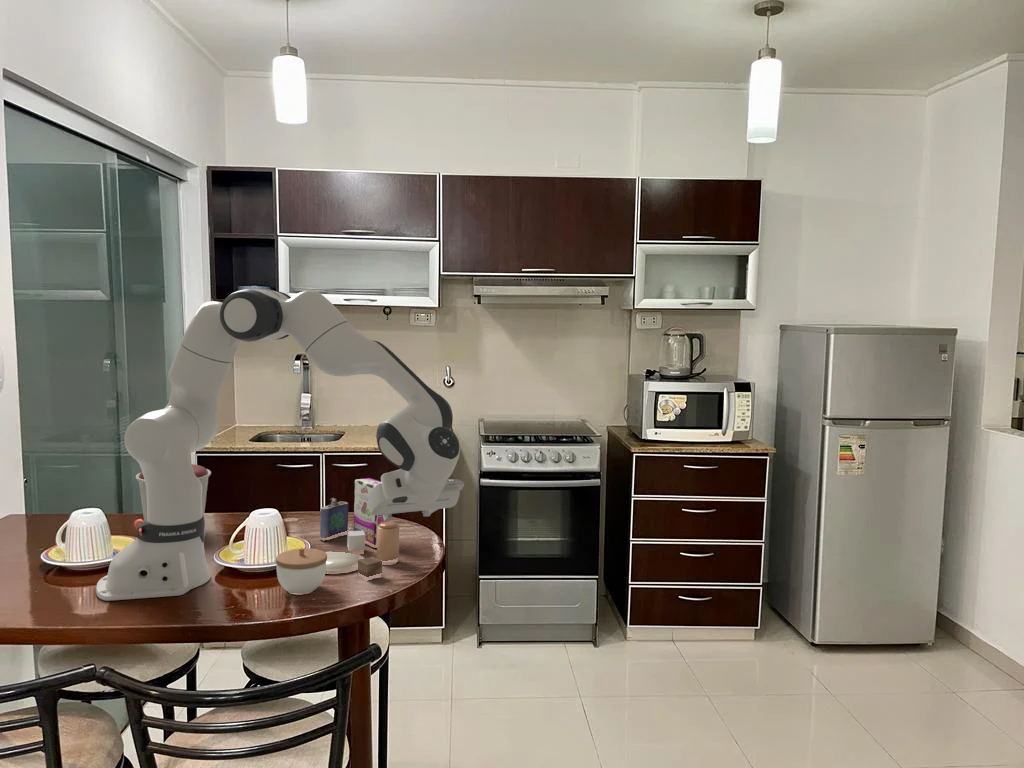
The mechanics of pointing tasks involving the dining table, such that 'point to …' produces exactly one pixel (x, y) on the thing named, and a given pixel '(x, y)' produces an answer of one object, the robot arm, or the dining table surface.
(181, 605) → the dining table surface
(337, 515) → the flask
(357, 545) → the grey block
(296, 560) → the lidded jar
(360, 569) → the walnut block
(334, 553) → the cream plate
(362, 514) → the candy bar box
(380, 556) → the tan cylinder
